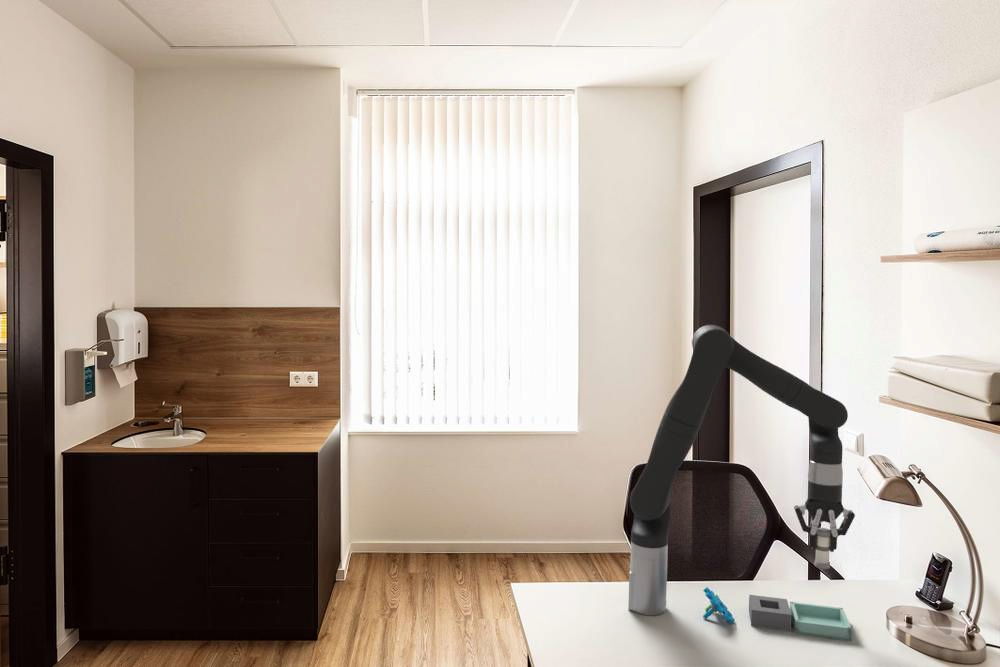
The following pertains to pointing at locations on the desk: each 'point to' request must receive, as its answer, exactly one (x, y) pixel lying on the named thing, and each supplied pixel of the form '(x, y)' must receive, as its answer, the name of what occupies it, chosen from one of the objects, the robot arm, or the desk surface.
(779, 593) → the desk surface
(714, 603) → the blue plastic angular piece
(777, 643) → the desk surface
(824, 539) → the cylinder
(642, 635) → the desk surface
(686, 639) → the desk surface
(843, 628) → the parts tray
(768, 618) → the block
